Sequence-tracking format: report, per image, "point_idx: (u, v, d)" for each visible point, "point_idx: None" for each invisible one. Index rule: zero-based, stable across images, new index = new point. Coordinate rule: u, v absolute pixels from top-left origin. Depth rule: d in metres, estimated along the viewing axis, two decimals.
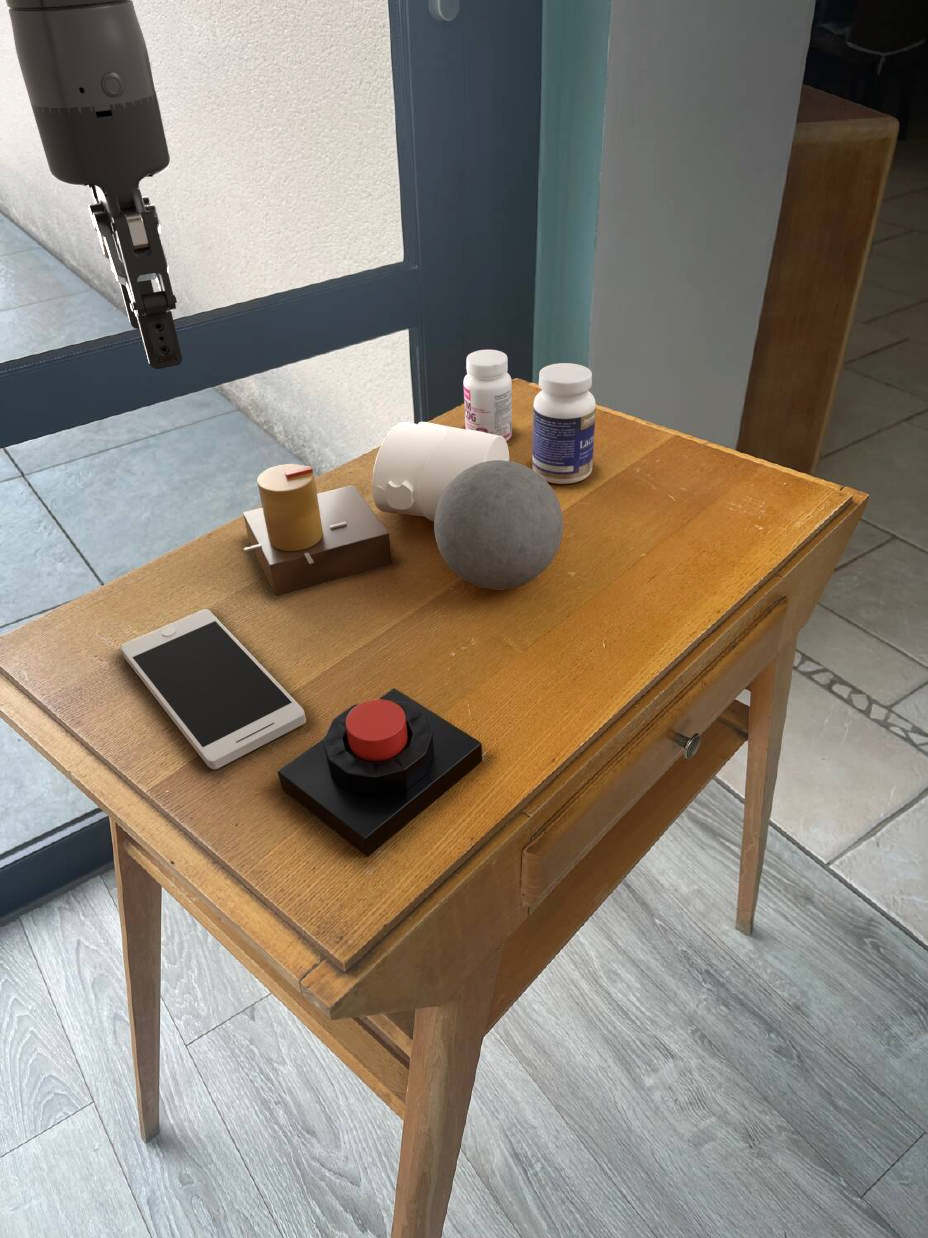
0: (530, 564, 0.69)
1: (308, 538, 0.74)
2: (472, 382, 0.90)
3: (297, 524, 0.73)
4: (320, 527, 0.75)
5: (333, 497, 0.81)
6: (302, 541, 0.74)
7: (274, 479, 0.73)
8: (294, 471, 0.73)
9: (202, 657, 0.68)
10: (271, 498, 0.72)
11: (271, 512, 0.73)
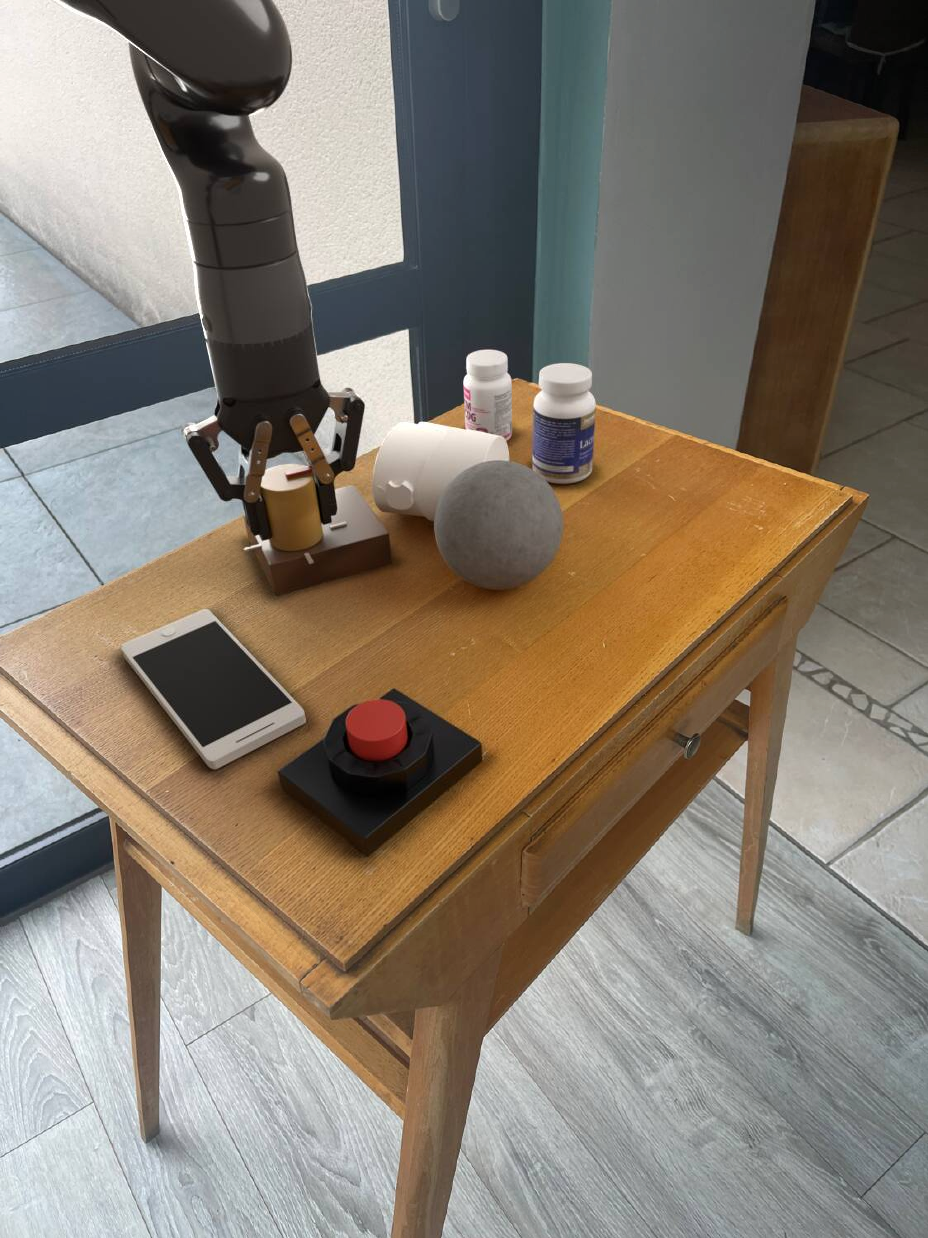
0: (530, 564, 0.69)
1: (308, 538, 0.74)
2: (472, 382, 0.90)
3: (297, 524, 0.73)
4: (320, 527, 0.75)
5: None
6: (302, 541, 0.74)
7: (274, 479, 0.73)
8: (294, 471, 0.73)
9: (202, 657, 0.68)
10: (271, 498, 0.72)
11: (271, 512, 0.73)
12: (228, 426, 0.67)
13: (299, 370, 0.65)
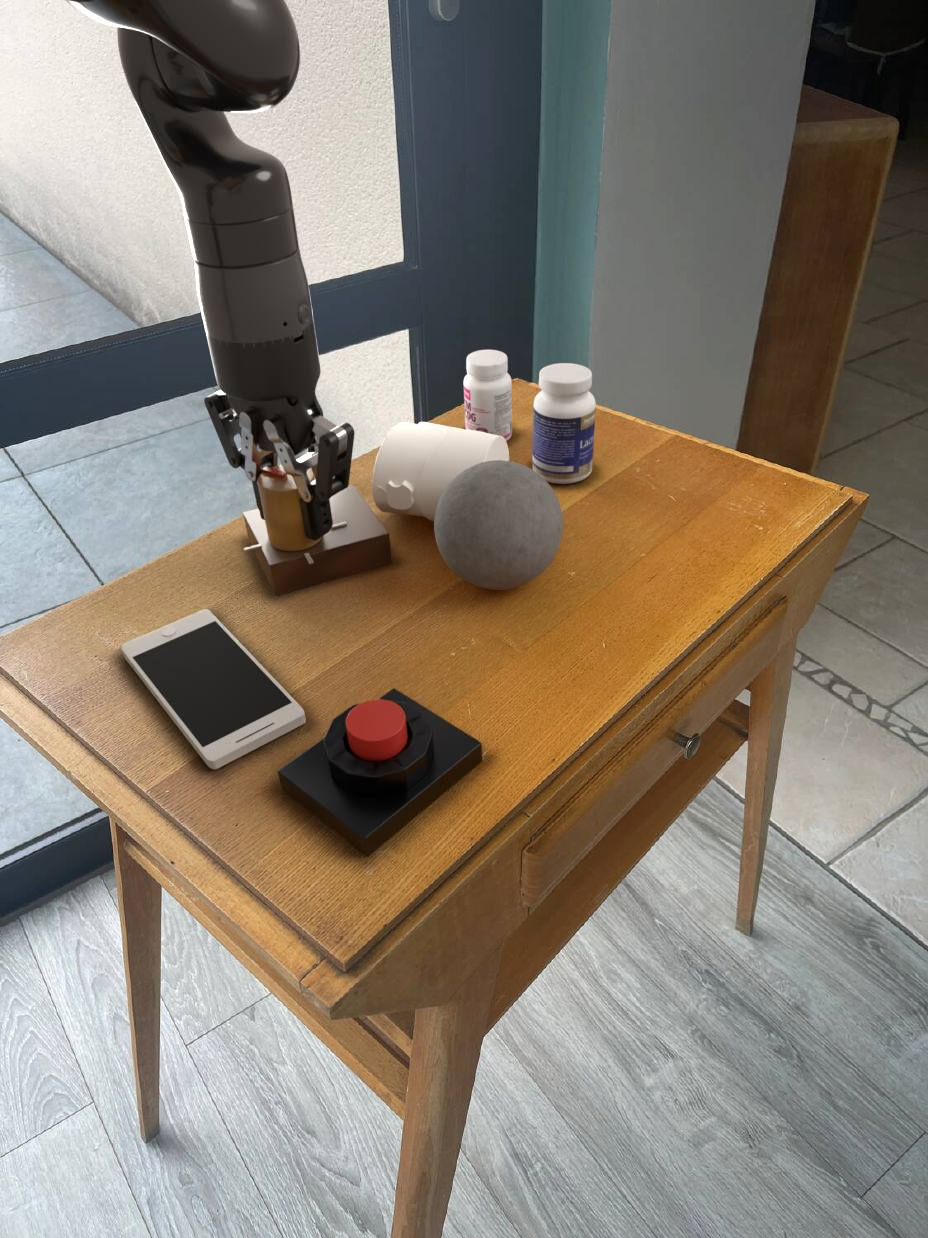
0: (530, 564, 0.69)
1: None
2: (472, 382, 0.90)
3: None
4: None
5: (333, 497, 0.81)
6: None
7: (293, 479, 0.72)
8: (277, 471, 0.73)
9: (202, 657, 0.68)
10: None
11: None
12: None
13: None
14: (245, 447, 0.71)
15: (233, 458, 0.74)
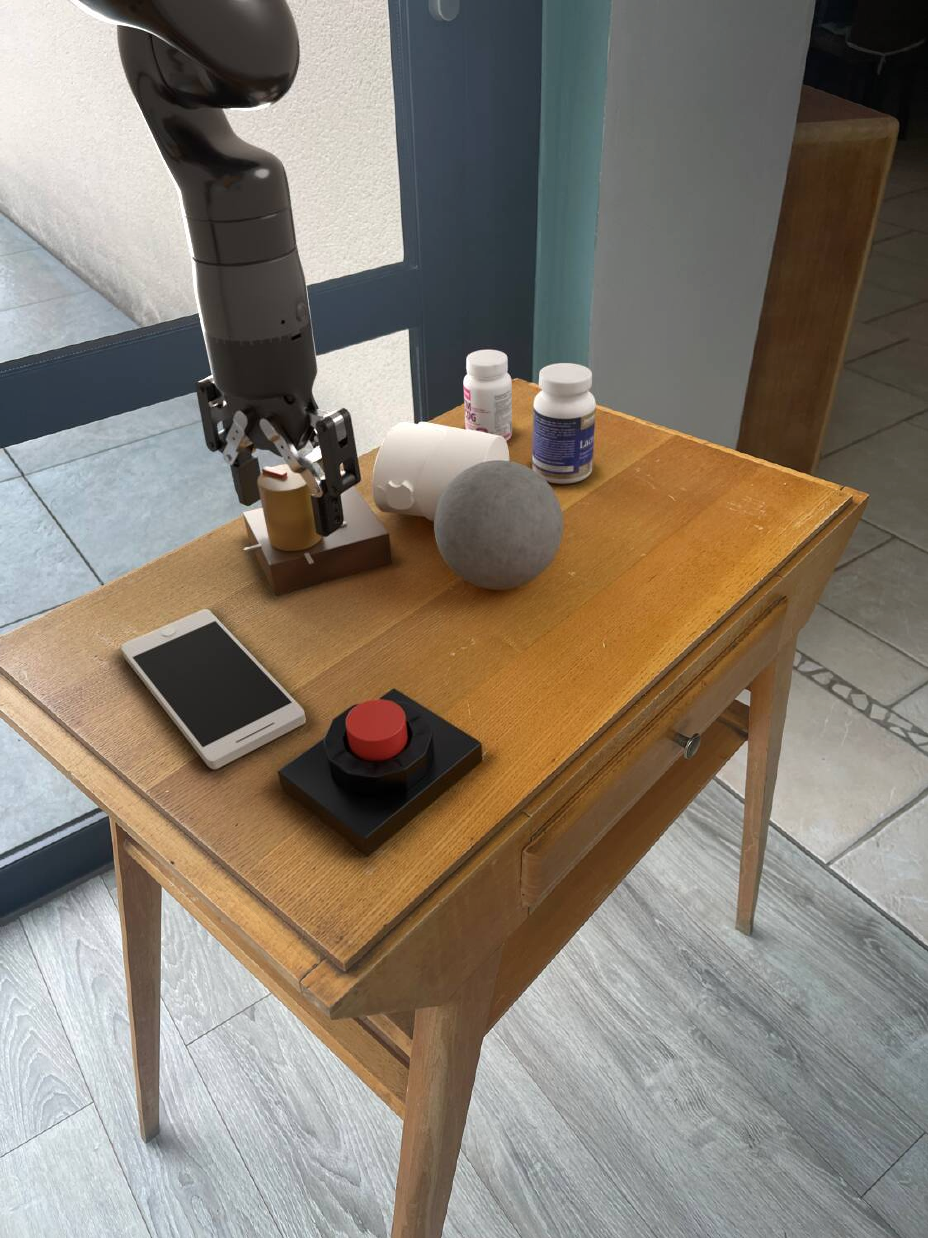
0: (530, 564, 0.69)
1: None
2: (472, 382, 0.90)
3: None
4: None
5: None
6: None
7: (293, 479, 0.72)
8: (277, 471, 0.73)
9: (202, 657, 0.68)
10: None
11: None
12: None
13: None
14: (232, 437, 0.71)
15: (211, 441, 0.74)
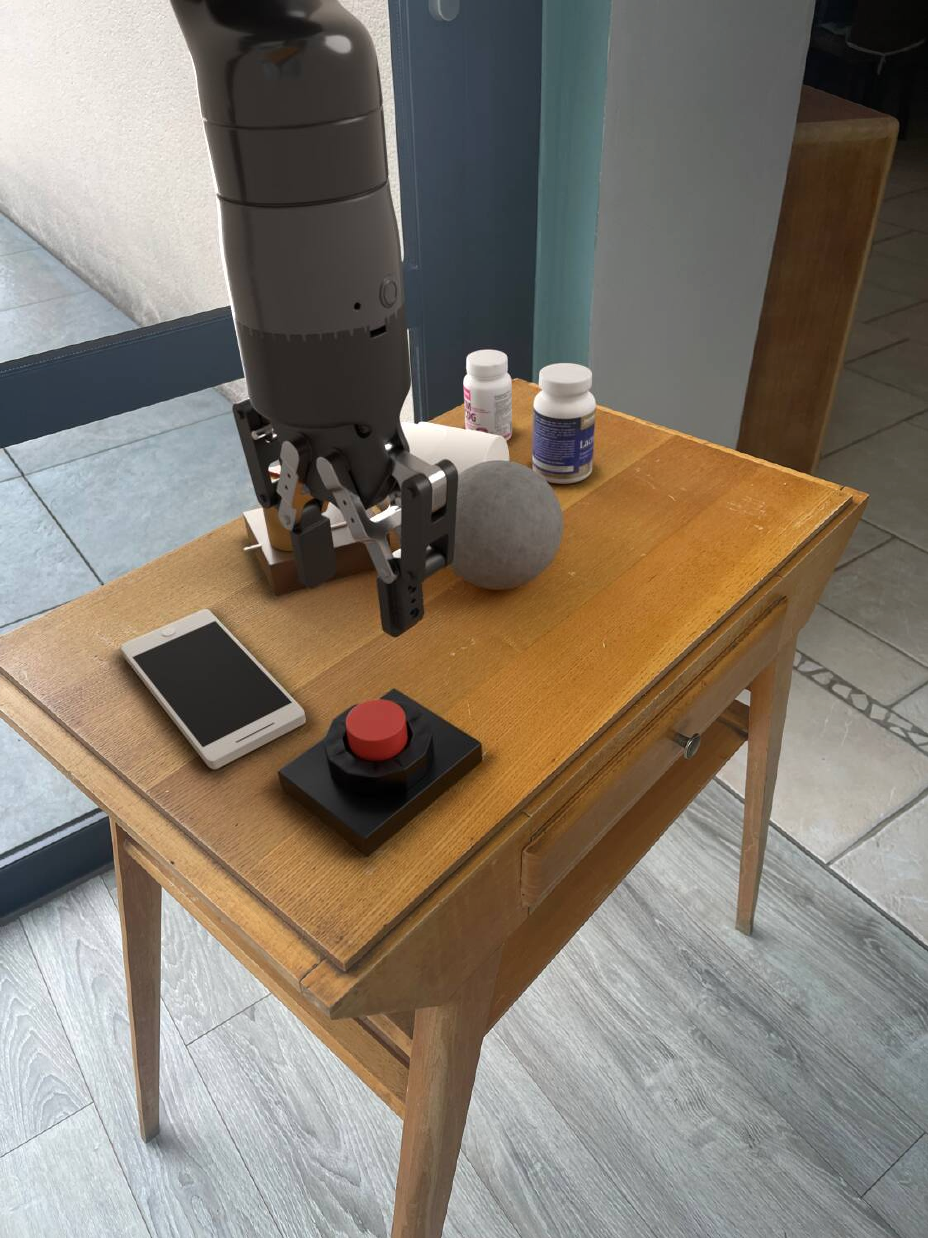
0: (530, 564, 0.69)
1: None
2: (472, 382, 0.90)
3: None
4: None
5: None
6: None
7: None
8: (277, 471, 0.73)
9: (202, 657, 0.68)
10: None
11: None
12: None
13: None
14: (284, 487, 0.47)
15: (263, 494, 0.50)
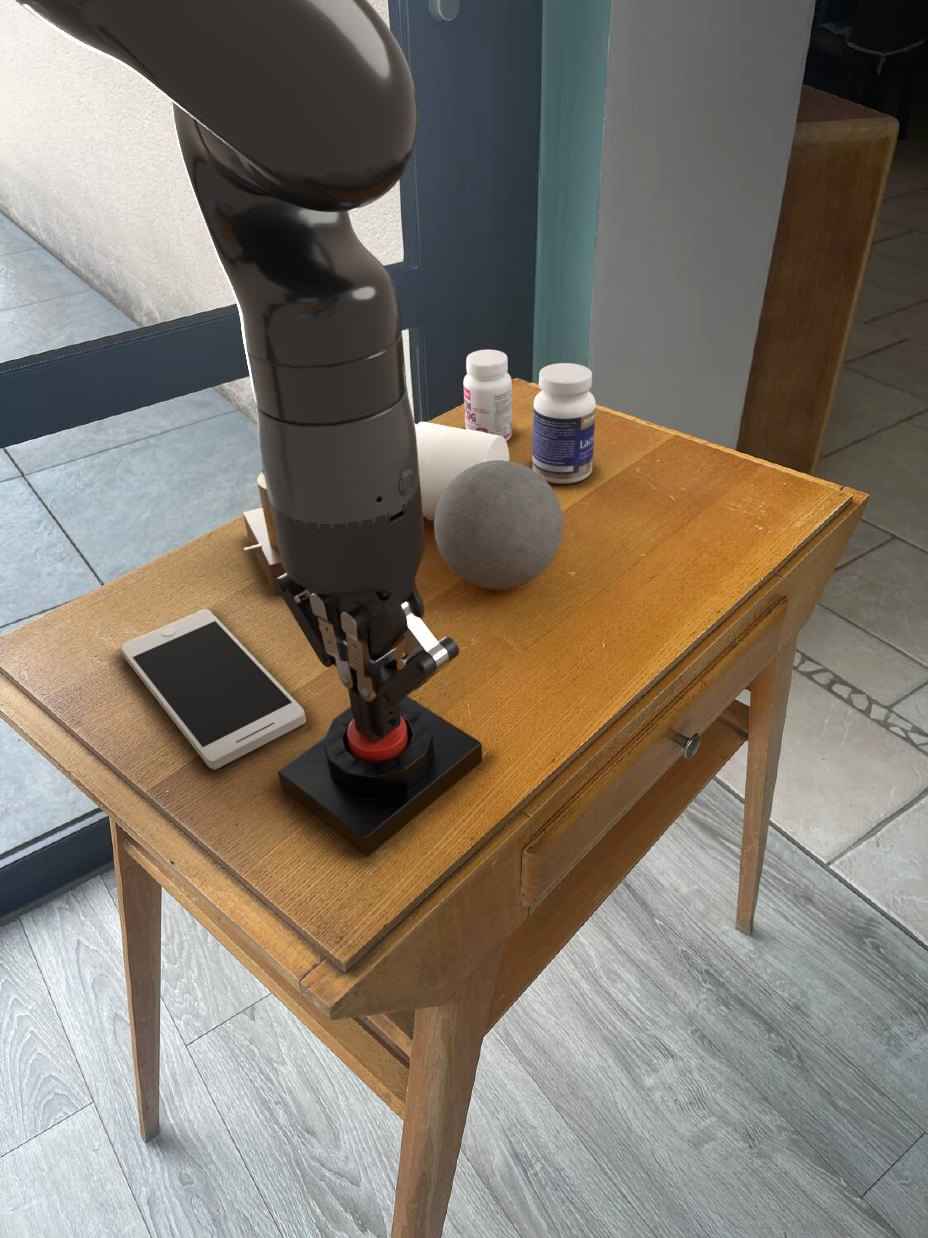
0: (530, 564, 0.69)
1: None
2: (472, 382, 0.90)
3: None
4: None
5: None
6: None
7: None
8: None
9: (202, 657, 0.68)
10: None
11: None
12: None
13: None
14: (328, 643, 0.52)
15: (324, 655, 0.54)
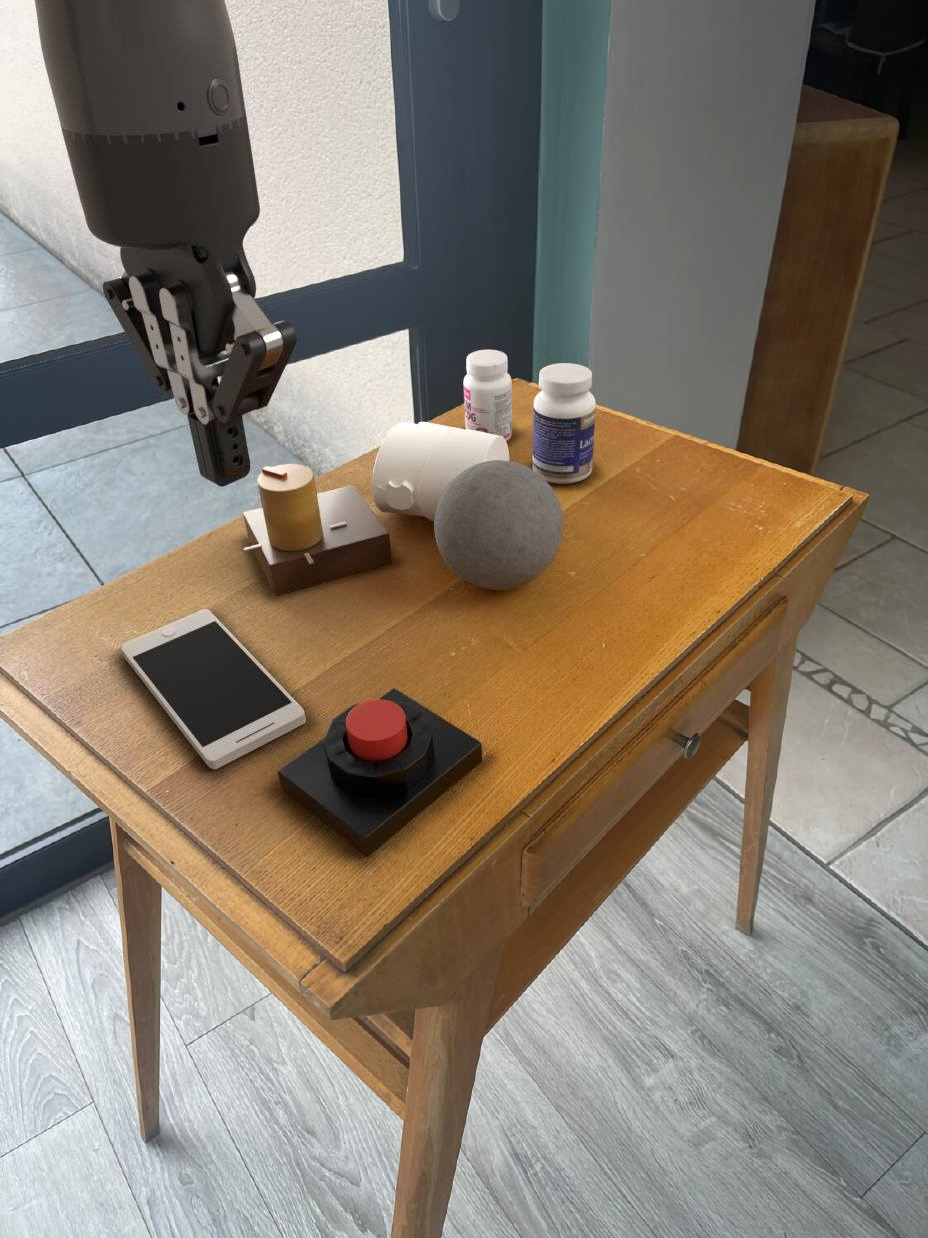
0: (530, 564, 0.69)
1: None
2: (472, 382, 0.90)
3: None
4: None
5: (333, 497, 0.81)
6: None
7: (293, 479, 0.72)
8: (277, 471, 0.73)
9: (202, 657, 0.68)
10: None
11: (317, 497, 0.74)
12: None
13: None
14: (156, 348, 0.45)
15: (159, 376, 0.47)
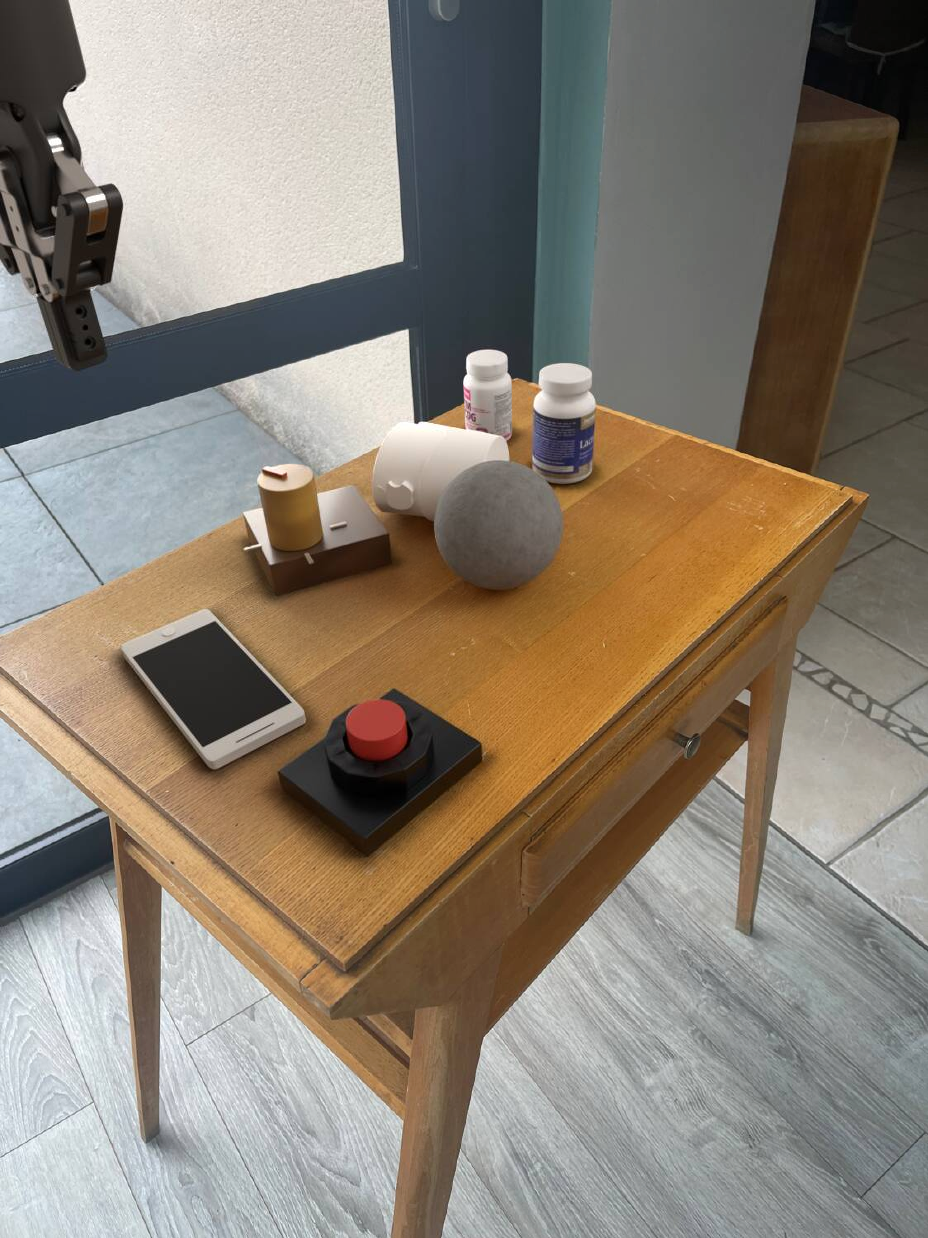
0: (530, 564, 0.69)
1: None
2: (472, 382, 0.90)
3: None
4: None
5: (333, 497, 0.81)
6: None
7: (293, 479, 0.72)
8: (277, 471, 0.73)
9: (202, 657, 0.68)
10: None
11: (317, 497, 0.74)
12: None
13: None
14: None
15: (6, 257, 0.47)
